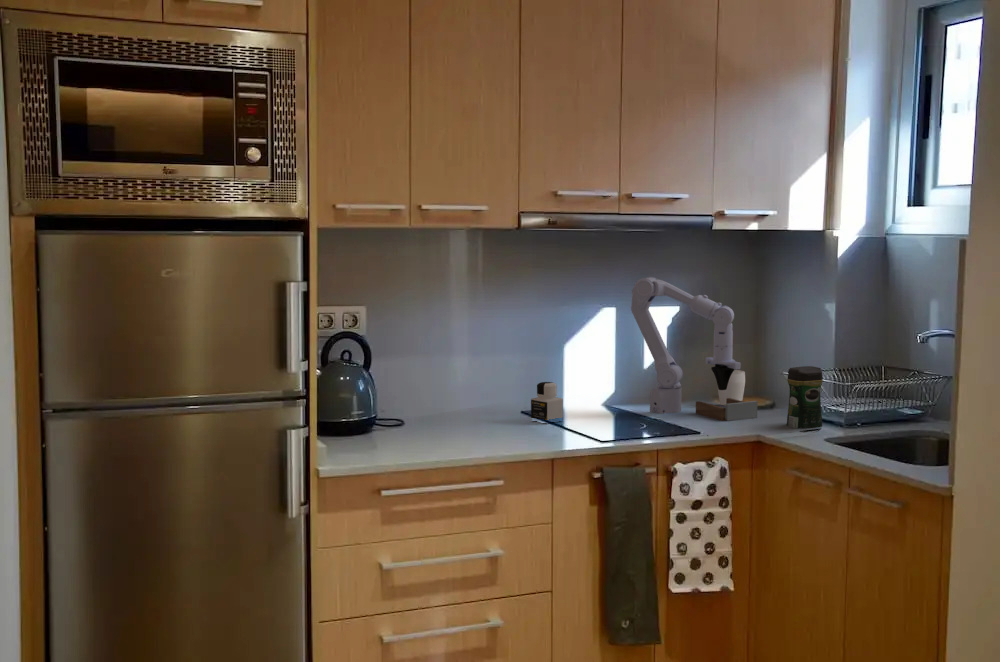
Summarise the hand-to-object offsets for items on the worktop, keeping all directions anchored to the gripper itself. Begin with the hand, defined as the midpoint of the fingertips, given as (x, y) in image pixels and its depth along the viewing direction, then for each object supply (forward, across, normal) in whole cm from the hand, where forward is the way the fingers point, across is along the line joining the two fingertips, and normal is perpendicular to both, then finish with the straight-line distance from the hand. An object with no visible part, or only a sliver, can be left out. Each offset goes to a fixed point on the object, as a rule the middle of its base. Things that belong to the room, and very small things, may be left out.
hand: (722, 389), depth 302 cm
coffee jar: (+9, -25, -10) cm, 28 cm away
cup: (+9, +12, -13) cm, 20 cm away
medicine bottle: (+9, +21, +50) cm, 55 cm away
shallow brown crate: (+9, -2, 0) cm, 9 cm away
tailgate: (+8, -9, 0) cm, 12 cm away
